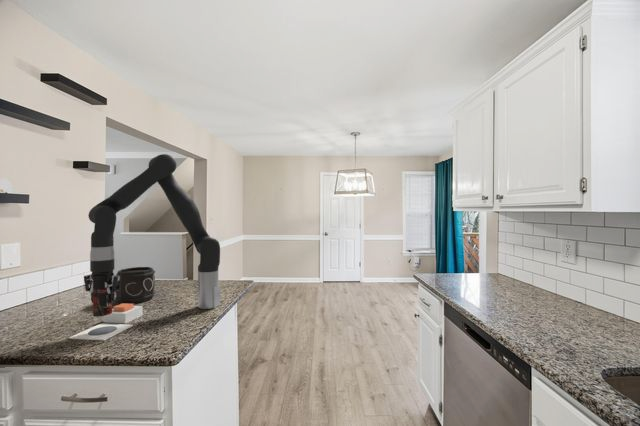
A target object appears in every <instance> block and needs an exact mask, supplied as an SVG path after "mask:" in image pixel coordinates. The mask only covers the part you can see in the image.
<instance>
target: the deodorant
mask: <svg viewBox="0 0 640 426" xmlns="http://www.w3.org/2000/svg"><path fill="white" fill-rule="evenodd" d="M105 282H106V283H107V285H110V284H112V281H109V282H107V275H93V303H92V316H93V317H103V316H106V315H109V314H111V313H112V309H113V302H112V303H107V294H108V292H107V289H106V288H105ZM110 289H111V287H110Z"/></svg>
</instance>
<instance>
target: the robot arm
mask: <svg viewBox="0 0 640 426" xmlns="http://www.w3.org/2000/svg"><path fill="white" fill-rule="evenodd" d="M176 169H177V161H176V159H175V158H174V157H173V156H172V155H170V154H167V153H165V154H164V153H162V154H158V155H157V156H155V157H153V158H151V159H150V160H149V161H148V168H147V169H145V170H144V171H143V172H142V173H140V174H138V175H137V176H136V177H134V178H133V179H131V180H130V181H127V183H125V184H124V185H123V186H121V187H120V188H118V189H117V190H116V191H115V192H114V193H113V194H112V195H110V196H108V197H107V198H106V199H105V198H104V200H102V201H101V202H100V201H99V203H97V204H96V205H95V206H93V207H92V208H91V209H90V210H89V212H88V214H87V215H88V219H89V221H90V222H91V223H93V224H94V226H93V228H94V229H93V232H92V233H91V236H90V251H89V252H90V253H89V271H90V272H91V274H86V275H84V276H83V281H84V283H83V284H84V290H85V292H89V293H90V302H91V303H92V304H93V275H107V282H109V281H112V284H110V285H107V283H106V282H105V288H106V289H107V292H108V294H107V303H112V304H113V303H114V302H115V300H116V299H115V298H116V296H115V295H116V291H118V290H120V283H121V275H118V276H116V274H115V273H114V270H115V246H114V243H115V242H114V233H115V229H116V225H117V224H116V223H117V213H119V212H120V211H122V210H125V209H127V208H128V207H129V206H131V205H132V204H133V203H134V202H136V201H137V200H138V199H139V198H140V197H142V195H143V194H144V193H146V192H147V191H148V190H149V189H151V187H152V186H154V185H155V184H156V183H158V185H159V187H161V189H162V191H163V193H164V194H165V196H166V198H167V200H168V202H169V203H170V205H171V207H172V208H173V210H174V212H175V215H177V218H179V220H180V222H181V223H182V225H183V227H184V228H185V229H186V231H187V232H188V234H189V236H190V238H191V240H192V243H193V245H194V248H195V249H196V252H197V253H198V254H200V256H199V265H198V266H197V305H198V306H197V307H198V309H200V310H209V309H216V308H217V307H219V306H220V305H221V285H220V284H219V266H220V264H221V263H220V262H221V245H220V244H221V243H220V242H219V241H218V240H217V239H216V238H215V237H211V236H210V234H209V233H208V232H207V231H206V229H205V227H204V224H203V222H202V217H201V214H200V211H199V209H198V207H197V204H196V203H195V200H194V199H193V198H192V196H191V195H190V194H189V193H188V192H187V191H186V190H185V189H184V188H183V187H181V185H180V184H179V183H178V182H177V180H176V178H175V176H174V174H173V173H174V172H175V171H176ZM110 287H111V289H110Z"/></svg>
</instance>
